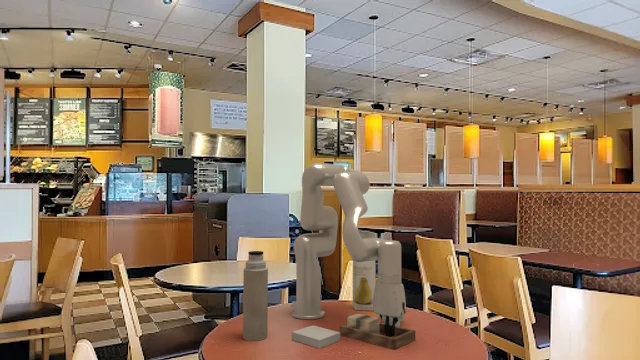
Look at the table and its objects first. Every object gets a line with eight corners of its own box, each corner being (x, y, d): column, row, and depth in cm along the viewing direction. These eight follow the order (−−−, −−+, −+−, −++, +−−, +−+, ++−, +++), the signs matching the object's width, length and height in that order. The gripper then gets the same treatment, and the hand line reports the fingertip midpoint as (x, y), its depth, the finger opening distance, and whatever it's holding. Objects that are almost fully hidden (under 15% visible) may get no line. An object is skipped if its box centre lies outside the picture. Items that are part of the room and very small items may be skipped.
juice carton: (352, 310, 179) (352, 251, 180) (353, 305, 187) (353, 248, 188) (375, 311, 178) (375, 251, 179) (376, 306, 186) (375, 249, 186)
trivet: (291, 339, 143) (291, 331, 143) (312, 332, 150) (312, 325, 150) (319, 348, 135) (319, 340, 135) (340, 340, 142) (340, 332, 142)
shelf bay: (340, 335, 148) (340, 325, 148) (362, 326, 157) (362, 318, 157) (394, 349, 134) (394, 339, 134) (415, 339, 143) (415, 330, 143)
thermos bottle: (250, 332, 150) (250, 249, 151) (271, 334, 148) (272, 250, 149) (238, 339, 143) (239, 252, 144) (260, 342, 140) (261, 253, 141)
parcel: (347, 333, 150) (347, 316, 150) (358, 329, 154) (358, 313, 154) (369, 339, 144) (369, 321, 144) (379, 334, 148) (379, 317, 148)
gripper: (363, 277, 145) (364, 334, 144) (403, 283, 135) (404, 344, 134) (376, 274, 150) (377, 329, 150) (416, 280, 141) (416, 338, 140)
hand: (389, 336), depth 142 cm, fingers closed
